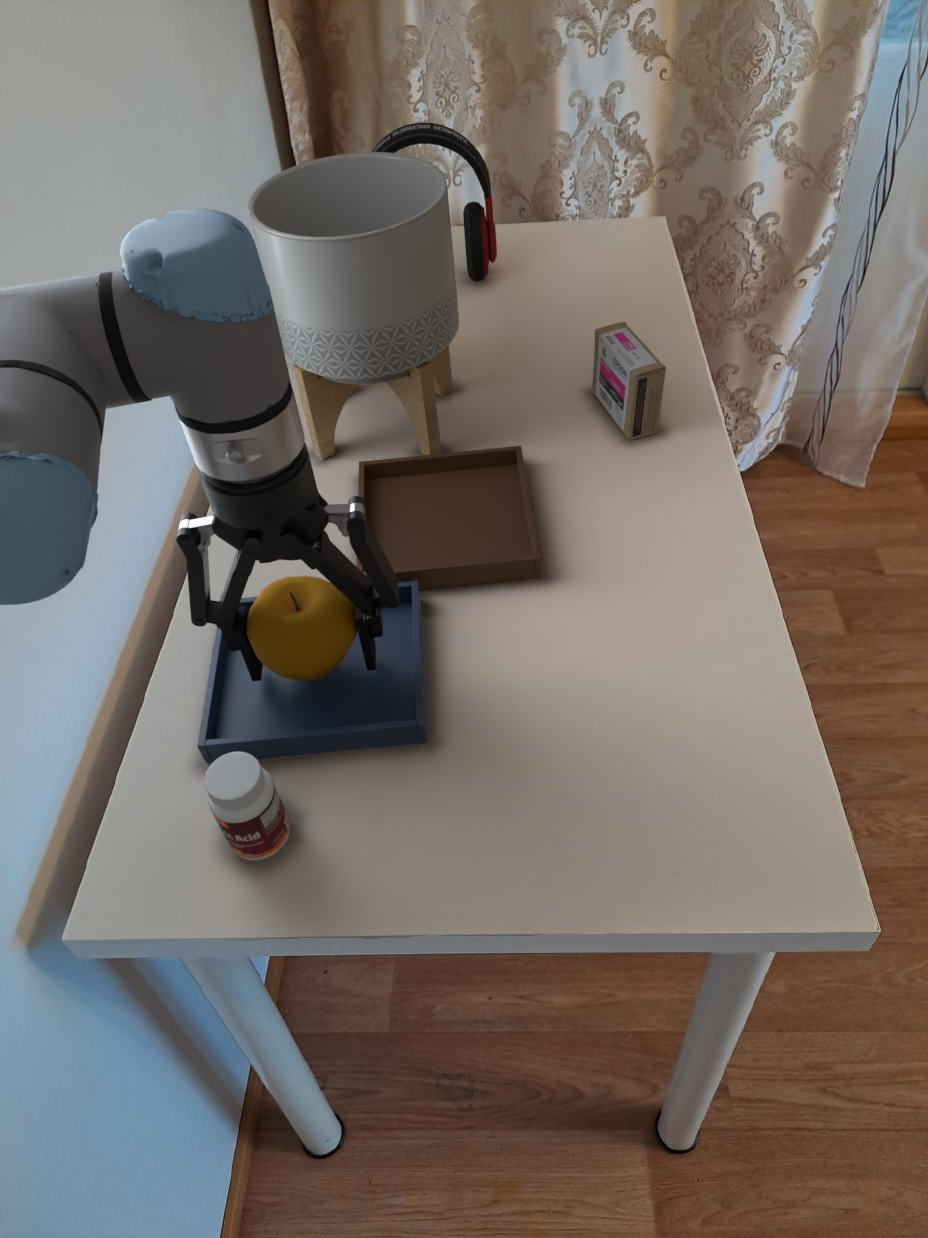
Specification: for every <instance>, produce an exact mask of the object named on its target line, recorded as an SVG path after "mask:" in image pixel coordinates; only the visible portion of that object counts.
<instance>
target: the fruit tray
mask: <svg viewBox="0 0 928 1238" xmlns="http://www.w3.org/2000/svg"><path fill="white" fill-rule="evenodd" d="M257 597H258V596H249V597H242V598H241V601H240V603H239V606H246V609H247V611H248V614H249V611H250V608H251V606H252V605H253V603H254V601H255V600H256V598H257ZM353 605H354V604H353ZM354 607H355V605H354ZM381 613H382V617H383V634H382V637H374V640H375V644H376V670H367V668H366V664H365V660H364V656H363V651H362V647H361V643H360V639H359V634H358V630H357V635H356V637H355V639H354V641H353V643H352V645H351V647H350V649H349V651H348V652H347V654H346V655H345V657H344V659H343V660H342V661H341V662H340V663H339V664H338V665H337V667H336V668H335V669H334V670H333V671H332V672H331V673H330V674H328V675H327V676H326V677H324V678H321V679H319V680H317V681H296V680H292V679H288V678H285V677H281V676H279V675H277V674H276V673H274V672H273V671H271V670H270V669H268V668H266V667H265V666H264V664H263V668H262V677H261V681H252V679H251V676H250V674H249V671H248V669H247V666H246V664H245V661H244V659H243V656H242V653H241V651H231V650H230V649H229V648H228V647H227V644H226V642H225V639H224V637H223V634H222V632H221V629H219V628H218V627H217V626H216V630H215V635H214V642H213V647H212V648H213V649H212V654H211V661H210V665H209V673H208V678H207V686H206V691H205V697H204V703H203V710H202V716H201V723H200V729H199V734H198V740H197V741H198V742H197V748H198V750H199V752H200V755H201V756H202V758H203V760H204V762H205V764H206V765H211V764H212V763H213V762H214V761H215V760H216V759H217V758H219V757H220V756H222V755H225V754H227V753H231V752H246V753H249V754H251V755H252V756H254V757H255V758H256V759H257V760H263V759H272V758H283V757H294V756H303V755H305V756H306V755H313V754H316V755H317V754H324V753H326V754H327V753H335V752H346V751H356V750H364V749H365V750H366V749H376V748H386V747H387V748H388V747H397V746H398V747H399V746H406V745H416V744H417V745H418V744H427V743H428V730H427V729H428V728H427V705H426V685H425V665H424V664H425V662H424V659H425V658H424V641H423V639H424V638H423V636H424V635H423V618H422V598H421V591H420V590H419V585H418V581H412V582H411V581H410V582H400V583H399V604H398V606H397V607H395V608H388V607H386V606H385V607H383V608H381Z"/></svg>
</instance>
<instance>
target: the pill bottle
mask: <svg viewBox="0 0 928 1238" xmlns="http://www.w3.org/2000/svg"><path fill="white" fill-rule="evenodd" d="M203 780H204V781H203V784H204V788H205V791H206V793H207V802H208V807H209V810H210V812H211V813H212V815H213V817H214V819H215V822H216V823H217V824H218V827H219V829H220V831H221V833H222V834H223V836H224V838H225V839H226V841H227V843H228V845H229V846H230V848H231V851H233V853H234V854H235V855H236V856H238V857H240V858H241V859H244V860H248V861H261V860H265V859H267V858H270V857H272V856H274V855H275V854H277V853H278V852H279V851H280V850H281V849H283V847H284V846H285V844H286V843H287V841H288V839H289V837H290V833H291V823H290V822H291V821H290V818H289V816H288V813H287V812H286V809H285V806H284V804H283V801H282V799H281V797H280V794H279V792H278V789H277V787H276V784H275V782H274V779H273V777H272V775H271V774H270V773H269V772H268V771H267V770H266V769H265V768H263V767H262V765H261V764H260V762H259V759H256V758H255V757H254V756H252V755H251V754H249V753H246V752H231V753H227V754H225V755H222V756H220V757H219V758H217V759H216V760H215V761H214V762H213V763H212V764H209V766H208V768H206V771H205V773H204V778H203Z"/></svg>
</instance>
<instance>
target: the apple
mask: <svg viewBox="0 0 928 1238" xmlns="http://www.w3.org/2000/svg"><path fill="white" fill-rule="evenodd" d="M256 597H257V598H256V600H255V601H254V603H253V605H252V606H251V608H250V611H249V614H248V618H247V622H246V634H247V637H248V639H249V641H250V643H251V646H252V648H253V650H254V652H255V654H256V656H257V658H258V659H259V660H260V661H261V662H262V663H263V664H264V666H265V667H266V668H268V669H270V670H271V671H273V672H274V673H276V674H277V675H279V676H281V677H285V678H288V679H292V680H296V681H317V680H319V679H321V678H324V677H326V676H327V675H328V674H330V673H331V672H332V671H333V670H334V669H335V668H336V667H337V665H338V664H339V663H340V662H341V661H342V660H343V659H344V657H345V655H346V654H347V652H348V651H349V649H350V647H351V645H352V643H353V641H354V639H355V637H356V635H357V626H356V622H355V607H354V605H353V603H352V602H351V601H350V600H349V599H348V598H347V597H345V596H344V595H343V594H342V593H341V592H340V591H339V590H338V589H337V588H336V587H335V586H334V585H333V584H332V583H331V582H330V581H329V580H327V579H323V578H322V577H316V576H310V575H297V576H295V575H294V576H286V577H283V578H281V579H277V580H275V581H272V582H271V583H269V584H268V585H266V587H264V588H263V589H262V590H261V592H260V593H259V594H258V595H257V596H256Z"/></svg>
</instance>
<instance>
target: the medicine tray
mask: <svg viewBox="0 0 928 1238" xmlns="http://www.w3.org/2000/svg"><path fill="white" fill-rule="evenodd" d="M523 453H524V452H523V448H522V445H513V446H503V447H502V446H501V447H492V448H481V449H471V450H463V451H462V450H461V451H451V452H442V454H432V455H423V454H422V455H412V456H403V457H393V458H392V457H391V458H383V459H374V460H364V461H363V460H361V461H359V462H358V481H357V483H358V484H357V485H358V486H357V487H358V488H357V496H360V497H362V498H363V499H364V500H365V510H366V520H367V522H368V524H369V526H370V528H371V530H372V532H373V533H374V535H375V537H376V539H377V541H378V543H379V545H380V547H381V549H382V550H383V552H384V554H385V556H386V558H387V560H388V562H389V564H390V565H391V567H392V569H393V571H394V573H395V575H396V577H397V579H398V583H400V582H410V581H411V582H412V581H418V585H419V591H420V590H429V589H430V590H431V589H441V588H450V587H460V586H461V587H462V586H470V585H471V586H473V585H481V584H490V583H500V582H501V583H503V582H511V581H521V580H533V579H540V578H542V556H541V551H540V544H539V539H538V532H537V527H536V522H535V516H534V510H533V504H532V498H531V494H530V493H531V492H530V488H529V483H528V477H527V471H526V466H525V465H526V464H525V460H524V459H525V458H524V454H523ZM356 567H357V568H358V569H359V570H360V571H361V572H362V573H363V574H364V575H365V576H366V577H367V578H368V579H369V577H368V575H367V574H366V572H365V570H364V568H363V566H362V565H361V563H360V561H359V559H358V558H357V557H356ZM369 580H370V579H369Z"/></svg>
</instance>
